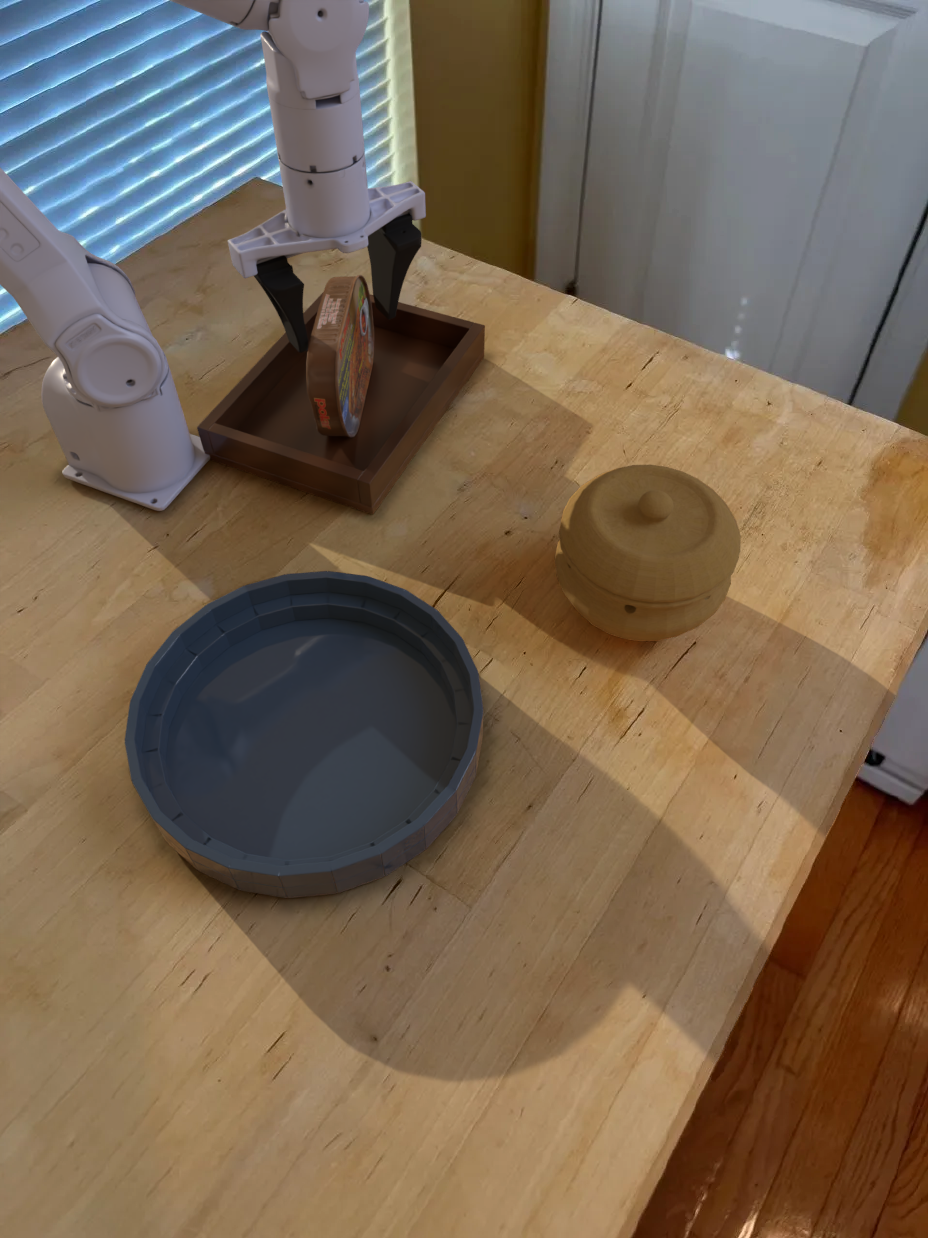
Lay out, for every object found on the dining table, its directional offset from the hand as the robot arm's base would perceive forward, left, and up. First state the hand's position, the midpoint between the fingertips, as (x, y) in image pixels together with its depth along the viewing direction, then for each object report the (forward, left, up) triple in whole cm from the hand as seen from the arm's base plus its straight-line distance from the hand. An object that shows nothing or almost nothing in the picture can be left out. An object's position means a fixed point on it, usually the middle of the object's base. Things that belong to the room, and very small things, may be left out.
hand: (342, 328), depth 73 cm
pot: (+28, -10, -8) cm, 31 cm away
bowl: (+13, -29, -8) cm, 33 cm away
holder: (0, 0, -8) cm, 8 cm away
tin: (0, 0, -7) cm, 7 cm away
